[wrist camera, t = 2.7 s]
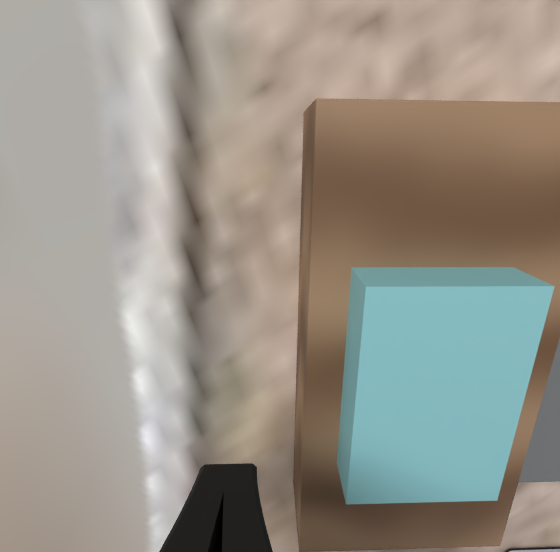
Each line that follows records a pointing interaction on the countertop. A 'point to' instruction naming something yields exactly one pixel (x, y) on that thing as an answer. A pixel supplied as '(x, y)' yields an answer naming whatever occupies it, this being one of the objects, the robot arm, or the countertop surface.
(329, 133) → the brown flat block
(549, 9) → the countertop surface
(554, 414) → the mat
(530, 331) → the thick teal block
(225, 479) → the robot arm
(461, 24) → the countertop surface
